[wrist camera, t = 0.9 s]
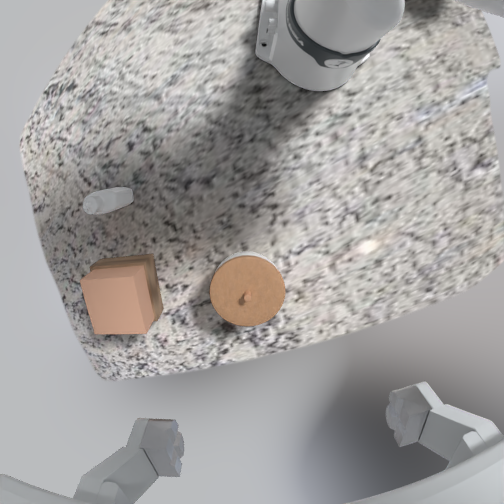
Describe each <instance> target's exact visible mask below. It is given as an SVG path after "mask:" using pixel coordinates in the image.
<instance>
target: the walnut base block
mask: <svg viewBox="0 0 504 504" xmlns="http://www.w3.org/2000/svg"><path fill="white" fill-rule="evenodd" d="M142 265H144V270H145V275H146V280H147V285H148V290H149V295H150V300H151V304H152V309H153V313H154V318H155V319H154V321H158V319H159V317H160V315H161V313H162V311H163V309H164V308H163V303H162V299H161V294H160V288H159V283H158V278H157V272H156V267H155V261H154V255H153V254H146V255H136V256H126V257H115V258H105V259H100V260H99V261H97V262H96V263H95V264H93V265H92V266H90V271H92V270H96V269H107V268H119V267H131V266H142Z"/></svg>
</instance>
